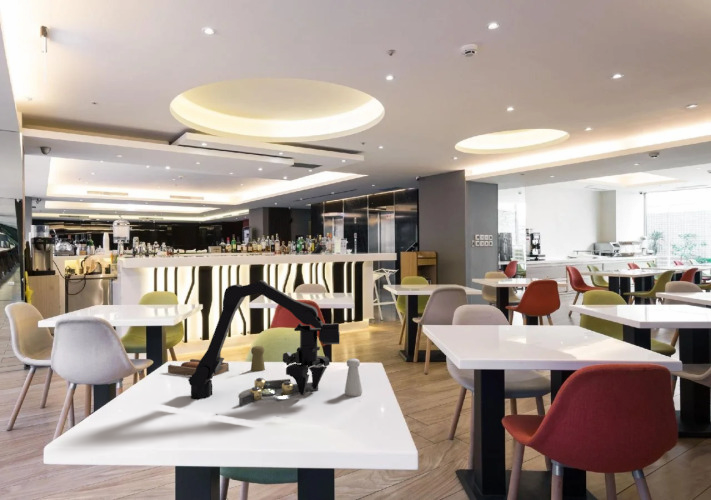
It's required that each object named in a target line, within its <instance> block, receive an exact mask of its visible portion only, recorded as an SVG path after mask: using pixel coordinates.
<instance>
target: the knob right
mask: <svg viewBox="0 0 711 500" xmlns="http://www.w3.org/2000/svg"><path fill="white" fill-rule="evenodd" d="M290 381H291V380H290ZM290 381H286V382H284V383H283V384H282V394H285V395H289V394H292V393H296V394H298V393H300V392H299V389H298V386H297V383H293V382H292V381H291V382H290ZM315 391H319V385H318V386H317V388H316V389H313V384H312V381H311V382H307V385H306V389H305V392H315Z"/></svg>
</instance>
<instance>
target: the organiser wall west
mask: <svg viewBox="0 0 711 500" xmlns="http://www.w3.org/2000/svg"><path fill="white" fill-rule="evenodd" d="M195 372H196V368H191V367H183V366H181V365H173V364H168V365H167V373H168V374H173V375H181V376H188V377H191V376H192V375H193V374H194V373H195Z"/></svg>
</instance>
